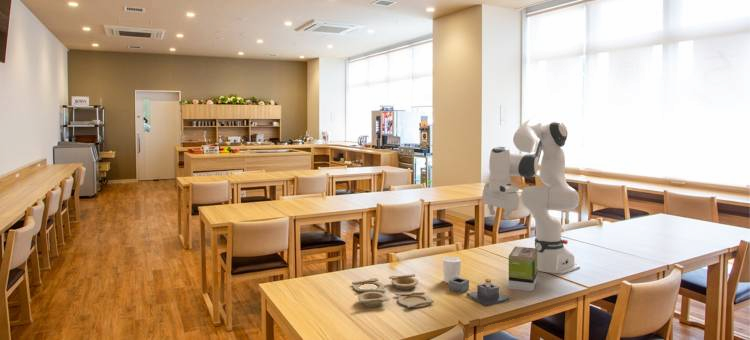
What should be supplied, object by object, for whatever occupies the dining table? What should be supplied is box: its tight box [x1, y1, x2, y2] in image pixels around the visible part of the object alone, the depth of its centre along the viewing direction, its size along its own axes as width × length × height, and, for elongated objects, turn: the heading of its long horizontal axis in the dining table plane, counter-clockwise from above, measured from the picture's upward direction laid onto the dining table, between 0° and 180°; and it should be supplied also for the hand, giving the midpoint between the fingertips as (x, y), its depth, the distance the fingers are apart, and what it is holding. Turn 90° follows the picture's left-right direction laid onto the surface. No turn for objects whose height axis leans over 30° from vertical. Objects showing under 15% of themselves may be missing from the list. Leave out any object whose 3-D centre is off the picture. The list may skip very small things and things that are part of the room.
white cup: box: [442, 256, 462, 284], centre depth 214 cm, size 8×8×10 cm
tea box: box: [508, 246, 538, 292], centre depth 208 cm, size 15×10×15 cm
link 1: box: [448, 277, 470, 294], centre depth 204 cm, size 6×6×4 cm
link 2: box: [476, 282, 500, 300], centre depth 194 cm, size 6×6×4 cm
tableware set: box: [351, 273, 435, 309], centre depth 199 cm, size 35×29×4 cm
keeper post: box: [466, 278, 511, 307], centre depth 194 cm, size 12×12×8 cm
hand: (499, 217), depth 210 cm, fingers open, 8 cm apart
